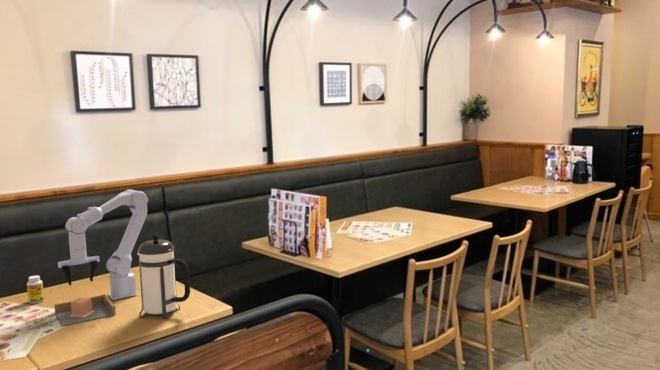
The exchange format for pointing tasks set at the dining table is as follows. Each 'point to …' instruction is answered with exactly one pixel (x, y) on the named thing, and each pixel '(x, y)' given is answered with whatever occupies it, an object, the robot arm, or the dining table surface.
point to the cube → (81, 306)
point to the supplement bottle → (35, 290)
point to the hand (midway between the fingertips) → (80, 282)
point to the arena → (99, 310)
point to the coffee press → (160, 277)
